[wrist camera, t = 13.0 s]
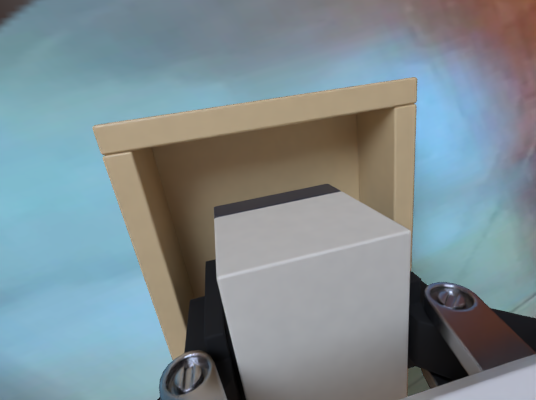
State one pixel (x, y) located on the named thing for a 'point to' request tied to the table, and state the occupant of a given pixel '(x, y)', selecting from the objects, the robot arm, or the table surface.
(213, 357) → the robot arm
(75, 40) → the table surface
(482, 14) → the table surface
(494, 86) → the table surface
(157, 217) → the wooden tray
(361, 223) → the two-tone stepped block
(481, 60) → the table surface
